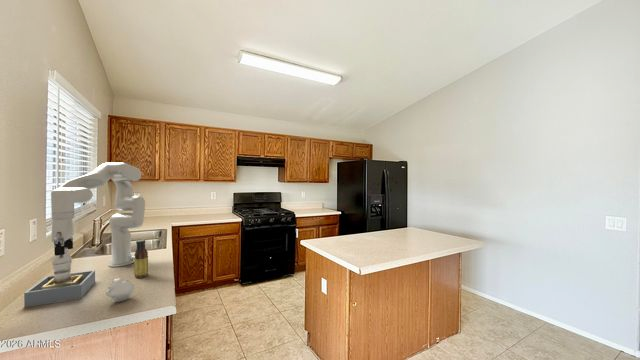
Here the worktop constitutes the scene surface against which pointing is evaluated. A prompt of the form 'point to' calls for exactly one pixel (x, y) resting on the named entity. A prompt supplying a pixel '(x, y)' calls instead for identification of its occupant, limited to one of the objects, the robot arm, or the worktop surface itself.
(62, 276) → the plastic bottle
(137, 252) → the sauce bottle
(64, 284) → the olive square tray
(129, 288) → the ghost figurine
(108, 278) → the worktop surface
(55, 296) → the walled box
